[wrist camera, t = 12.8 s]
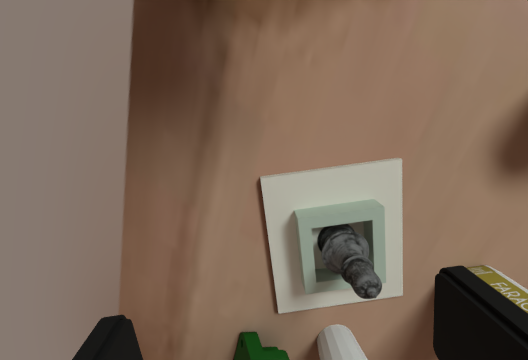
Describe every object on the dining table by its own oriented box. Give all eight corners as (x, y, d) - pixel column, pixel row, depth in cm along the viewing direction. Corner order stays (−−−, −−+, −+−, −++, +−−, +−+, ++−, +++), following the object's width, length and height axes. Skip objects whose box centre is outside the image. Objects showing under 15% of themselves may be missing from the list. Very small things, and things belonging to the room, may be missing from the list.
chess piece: (321, 215, 37) (355, 264, 26) (363, 224, 38) (415, 275, 26) (310, 255, 39) (336, 319, 27) (351, 263, 39) (394, 328, 28)
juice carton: (439, 315, 43) (579, 467, 25) (441, 264, 41) (596, 391, 23) (487, 308, 44) (662, 454, 25) (492, 258, 41) (687, 378, 23)
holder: (260, 176, 37) (261, 184, 33) (397, 157, 37) (415, 163, 33) (277, 308, 42) (280, 329, 38) (399, 291, 42) (414, 309, 38)
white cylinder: (366, 340, 44) (387, 382, 37) (331, 365, 45) (346, 411, 38) (339, 312, 42) (356, 351, 36) (303, 339, 43) (313, 382, 36)
